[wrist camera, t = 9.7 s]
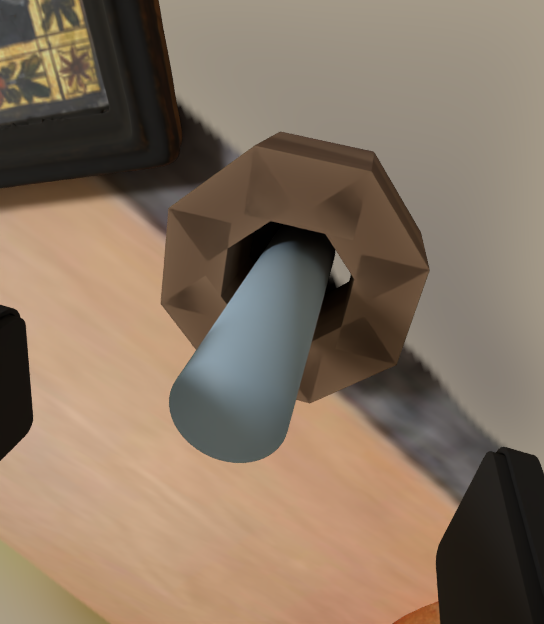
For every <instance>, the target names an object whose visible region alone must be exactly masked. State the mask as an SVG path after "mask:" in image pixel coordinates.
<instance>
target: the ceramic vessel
mask: <svg viewBox="0 0 544 624" xmlns="http://www.w3.org/2000/svg"><path fill="white" fill-rule="evenodd" d="M393 624H440V615H439V601H438V602H435V603H433V604H430V605H428V606H425V607H422V608H420V609H418V610H416V611H414V612H412V613H409V614H407V615H405V616H404V617H402V618H401V619H399V620H397V621H396V622H394V623H393Z"/></svg>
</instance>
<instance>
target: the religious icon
mask: <svg viewBox="0 0 544 624" xmlns="http://www.w3.org/2000/svg"><path fill="white" fill-rule="evenodd" d="M181 142H182V129H181V123H180V118H179V112H178V107H177V102H176V96H175V90H174V84H173V78H172V72H171V66H170V61H169V55H168V50H167V45H166V40H165V34H164V30H163V24H162V18H161V12H160V6H159V1H158V0H0V188H7V187H14V186H22V185H29V184H36V183H44V182H52V181H59V180H67V179H74V178H82V177H89V176H97V175H104V174H111V173H119V172H126V171H134V170H141V169H149V168H155V167H161V166H165V165H168V164H170V163H172V162H173V161H175V160H176V159H177V157H178V156H179V152H180V146H181Z"/></svg>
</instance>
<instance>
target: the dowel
mask: <svg viewBox="0 0 544 624" xmlns="http://www.w3.org/2000/svg"><path fill="white" fill-rule="evenodd" d="M334 257H335V248H334V247H333V245H332V243H331V242H330V240H329V239H328V237H327V236H326V234H324V233H320V232H316V231H311V230H307V229H303V228H299V227H294V226H290V225H286V224H284V225H283V226H282V227H281V228H280V229H279V230H278V231H277V232H276V234H275V235H274V237H273V238H272V240H271V241H270V243H269V244H268V246H267V247H266V249H265V250H264V252H263V253H262V255H261V256H260V257H259V259H258V260H257V262H256V263H255V265H254V266H253V268H252V269H251V271H250V272H249V274H248V275H247V277H246V278H245V279H244V281H243V282H242V284H241V285H240V287H239V288H238V290H237V291H236V293H235V294H234V296H233V297H232V299H231V300H230V301H229V303H228V304H227V306H226V307H225V309H224V310H223V312H222V313H221V315H220V316H219V318H218V319H217V321H216V322H215V323H214V325H213V326H212V328H211V329H210V331H209V332H208V334H207V335H206V337H205V338H204V340H203V341H202V343H201V344H200V346H199V347H198V348H197V350H196V351H195V353H194V354H193V356H192V357H191V359H190V360H189V362H188V363H187V365H186V366H185V368H184V369H183V370H182V372H181V373H180V375H179V376H178V378H177V379H176V381H175V383H174V384H173V386H172V389H171V392H170V397H169V407H170V413H171V417H172V419H173V422H174V424H175V426H176V427H177V429H178V431H179V432H180V433H181V435H182V436H183V437H184V438H185V439H186V440H187V441H188V442H189V443H190V444H191V445H192V446H193V447H195V448H196V449H198V450H199V451H201V452H202V453H204V454H206V455H208V456H210V457H212V458H215V459H218V460H222V461H226V462H233V463H247V462H253V461H257V460H260V459H263V458H265V457H267V456H269V455H270V454H272V453H273V452H274V451H276V450H277V449H278V448H279V446H280V445H281V444H282V443H283V441H284V439H285V437H286V434H287V431H288V427H289V424H290V420H291V416H292V413H293V409H294V405H295V401H296V398H297V394H298V390H299V387H300V383H301V379H302V376H303V372H304V368H305V364H306V361H307V357H308V353H309V350H310V346H311V342H312V339H313V335H314V331H315V328H316V324H317V320H318V316H319V313H320V309H321V305H322V302H323V298H324V294H325V291H326V287H327V283H328V279H329V276H330V272H331V268H332V265H333V261H334Z"/></svg>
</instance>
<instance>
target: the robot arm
mask: <svg viewBox="0 0 544 624" xmlns="http://www.w3.org/2000/svg"><path fill="white" fill-rule="evenodd" d="M32 422H33V410H32V397H31V385H30V373H29V360H28V348H27V336H26V325H25V321H24V320H23V319H22V318H20V314H19V313H18V311H17V310H15V309H13V308H10V307H6V306H3V305H0V461H1V460H2V459H3V458H4V457H5V456H6V455H7V454H8V453H9V452H10V451H11V450H12V449H13V448H14V447H15V446H16V445H17V444H18V443H19V442H20V441H21V440H22V439H23V438H24V437H25V435H26V434H27V433H28V432H29V430H30V428H31V426H32ZM436 573H437V587H438V601H439V615H440V624H544V473H543V470H542V467H541V464H540V462H539V460H538V458H537V457H536V456H535V455H531V454H528V453H524V452H521V451H517V450H514V449H510V448H507V447H501V448H500V449H498V451H497V452H496V453H495V452H491V451H489V452H488V453H486V455H485V457H484V458H483V460H482V462H481V464H480V466H479V468H478V470H477V472H476V474H475V476H474V478H473V480H472V482H471V484H470V486H469V487H468V489H467V491H466V493H465V495H464V497H463V499H462V501H461V503H460V505H459V507H458V509H457V511H456V513H455V514H454V516H453V518H452V520H451V522H450V524H449V526H448V528H447V530H446V532H445V534H444V536H443V538H442V540H441V542H440V544H439V546H438V550H437V555H436Z"/></svg>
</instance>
